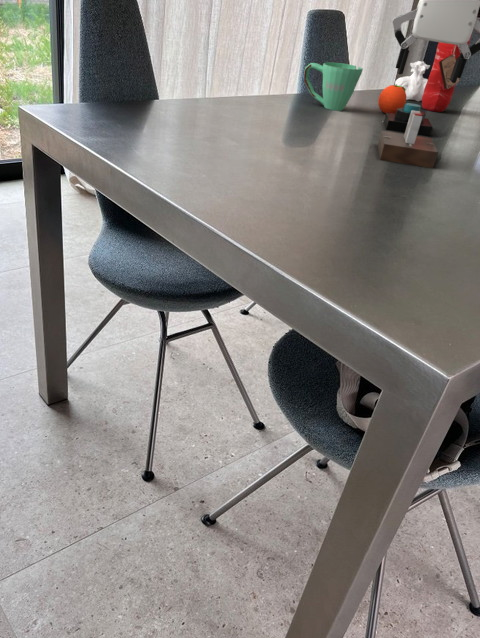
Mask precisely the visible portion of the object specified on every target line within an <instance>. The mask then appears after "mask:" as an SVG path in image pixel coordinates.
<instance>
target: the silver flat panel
mask: <svg viewBox="0 0 480 638" xmlns="http://www.w3.org/2000/svg"><path fill="white" fill-rule="evenodd" d="M420 111H421V110H420ZM420 111H414V110H411V114H410V117H409V121H408V124H407V127H406V131H405V133H403V134H404V139H405V142H406V143H408V144H414V143H415V140H416V136H418V135H417V133H418V130H419V127H420V123H421V120H422V114H421V113H420Z"/></svg>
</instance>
